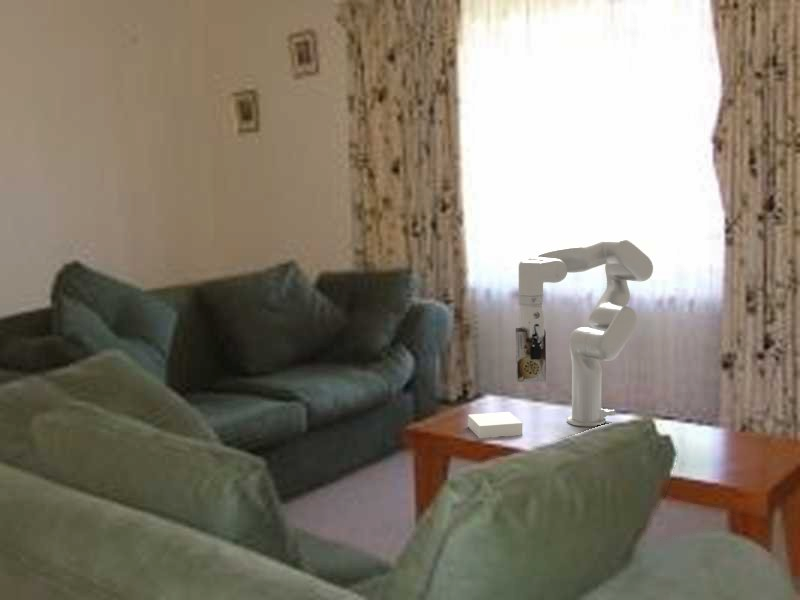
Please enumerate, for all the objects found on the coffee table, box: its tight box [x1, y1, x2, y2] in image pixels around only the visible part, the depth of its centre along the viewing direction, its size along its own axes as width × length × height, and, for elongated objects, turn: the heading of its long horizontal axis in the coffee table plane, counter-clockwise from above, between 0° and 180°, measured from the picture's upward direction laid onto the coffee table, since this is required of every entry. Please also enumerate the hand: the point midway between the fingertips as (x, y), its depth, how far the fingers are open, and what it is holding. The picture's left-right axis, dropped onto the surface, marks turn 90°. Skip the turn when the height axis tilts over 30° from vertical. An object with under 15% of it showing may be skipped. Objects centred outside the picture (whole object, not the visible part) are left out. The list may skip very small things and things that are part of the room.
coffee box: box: [515, 327, 547, 383], centre depth 300 cm, size 9×6×16 cm
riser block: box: [467, 411, 523, 439], centre depth 311 cm, size 14×14×4 cm
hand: (530, 356), depth 300 cm, fingers closed on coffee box, 7 cm apart
